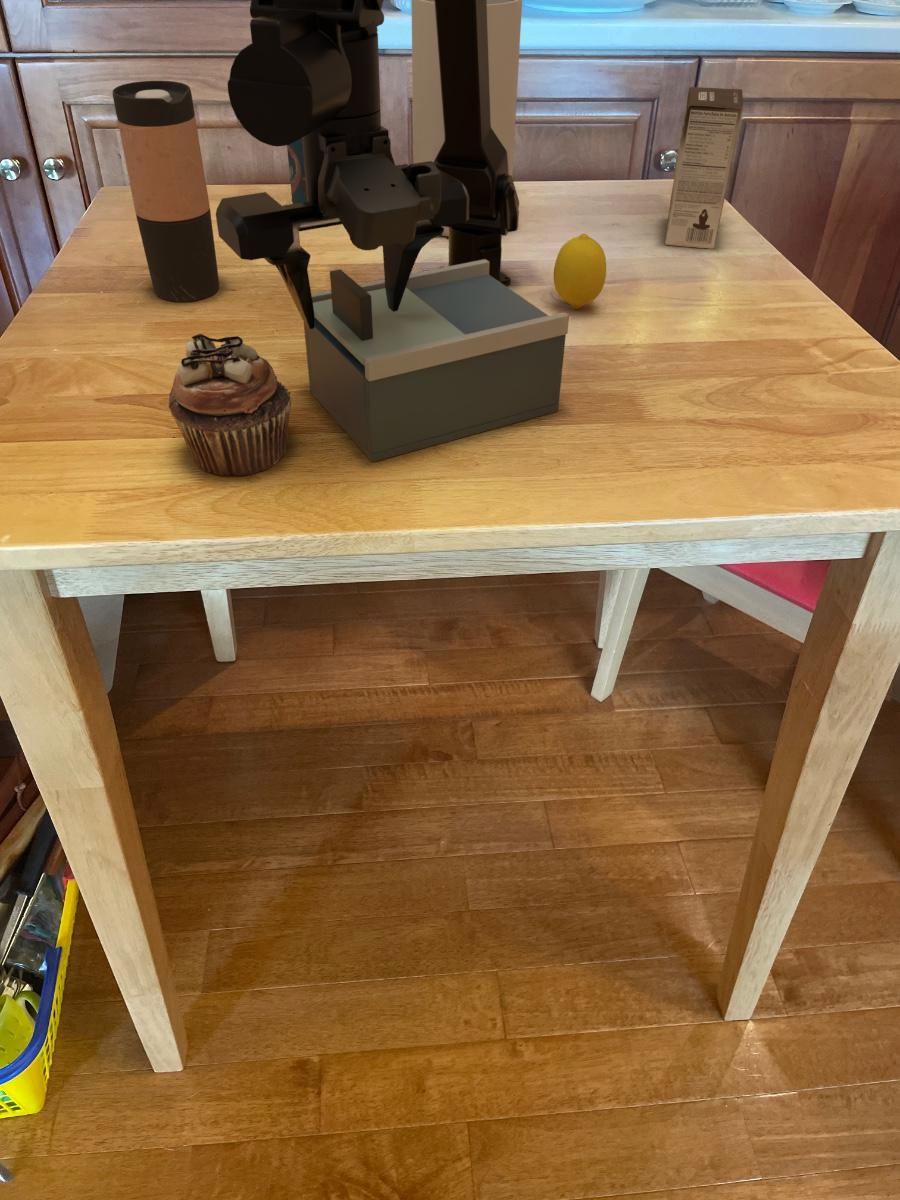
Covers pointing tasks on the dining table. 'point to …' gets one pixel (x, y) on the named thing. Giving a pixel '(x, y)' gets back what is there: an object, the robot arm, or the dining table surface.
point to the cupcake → (230, 407)
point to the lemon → (580, 271)
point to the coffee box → (703, 166)
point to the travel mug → (168, 187)
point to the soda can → (296, 170)
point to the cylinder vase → (427, 83)
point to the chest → (443, 367)
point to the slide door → (378, 319)
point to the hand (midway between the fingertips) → (352, 318)
